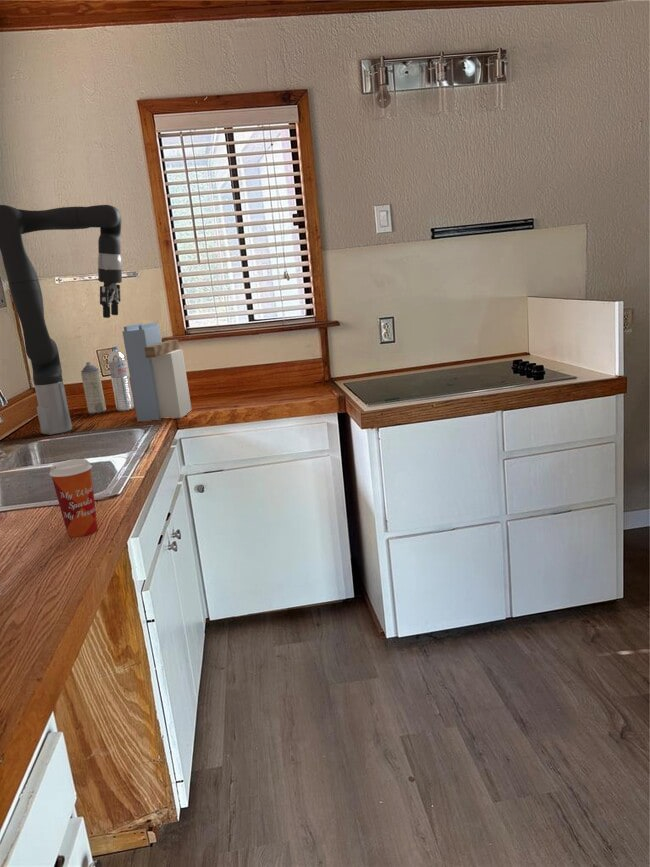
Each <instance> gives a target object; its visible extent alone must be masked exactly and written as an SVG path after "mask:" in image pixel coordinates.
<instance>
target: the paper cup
mask: <svg viewBox="0 0 650 867" xmlns="http://www.w3.org/2000/svg"><path fill="white" fill-rule="evenodd" d="M92 468H93V464H91V463H90V461H88V460H87V459H85V458H74V459H68V460H63V461H60V462H57V463H54V464H53V465H51V466H50V472H49V476H50V477H51V478H52V482H53V486H54V489H55V493H56V498H57V501H58V502H57V503H58V505H59V508H60V512H61V517H62V520H63V522H64V526H65V528H66V529H65V530H66V534H67V535H68V537H70V538H83V537H86V536H90V535H92V534H95V533H96V532H97V531H98V529H99V528H98V517H97V510H96V509H97V508H96V502H95V494H94V486H93V479H92V471H91V470H92Z"/></svg>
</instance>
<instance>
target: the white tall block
mask: <svg viewBox="0 0 650 867" xmlns="http://www.w3.org/2000/svg"><path fill="white" fill-rule="evenodd" d="M184 357H185V356H184V351H183V348H182V349H178V350H175V351H172V352H169V353H167V354H164V355H161V356H158V357H151V360H152V366H153V373H154V379H155V385H156V391H157V397H158V404H159V410H160V416H161V418H165V417H174V418H173V419H181V418H183V417H185V416H186V415H188V414H189V413H188V412H190V411H191V410H192V409H193V408H192V404H191V403H192V402H191V398H190V391H189V385H188V384H189V383H188V378H187V370H186V363H185V358H184ZM192 411H193V410H192ZM192 411H191V412H192ZM191 412H190V413H191ZM187 413H188V414H187Z"/></svg>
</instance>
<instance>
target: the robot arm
mask: <svg viewBox="0 0 650 867" xmlns="http://www.w3.org/2000/svg"><path fill="white" fill-rule="evenodd" d="M90 228H100V229H99V230H100V234H99V236H98V242H97V243H98V245H97V246H98V248H97V249H98V257H97V267H98V268H97V279H98V281H99V282H100V283H103V286H101V285H100V286H99V305H101V306H102V317H103V318H104V319H105V318H107V319H109V318H111V315H112V316H118V315H119V304H120V302H121V301H122V300H121V285H120V283H122V280H123V279H122V278H123V276H122V275H123V274H122V272H123V271H122V269H123V268H122V255H121V251H122V250H121V234H122V214H121V212H120V210H119V209H118V208H117V207H115V206H113V205H110V204H100V205H90V206H63V207H57V208H50V209H43V210H29V209H27V210H26V209H19V208H16V207H13V206H10V205H6V204H0V254H1V257H2V258H1V259H2V261H3V262H2V263H3V266H4V267H3V268H4V270H5V275H6V279H7V282H8V287H9V291H10V294H11V298H12V300H13V301H12V302H13V303H14V307H15V311H16V313H17V316H18V317H19V321H20V324H21V328H22V334H23V340H24V347H25V348H24V349H25V352H26V355H27V357H28V359H29V360H30V362H31V364H30V365H31V368H32V381H33V385H34V389H35V394H36V400H37V404H38V406H36V413H37V417H38V422H39V427H40V431H41V434H44V435H56V434H60V433H61V434H63V433H67V432H69V431H71V430H73V425H72V420H71V414H70V411H69V405H68V400H67V395H66V394H67V393H66V389H65V384H64V380H63V371H62V365H61V364H62V363H61V359H60V353H59V349H58V345H57V343H56V342H55V340H54V339H52V338H51V335H50V334H49V330H48V327H47V324H46V321H45V310H44V299H43V293H42V288H41V284H40V281H39V276H38V274H37V271H36V269H35V267H34V265H33V263H32V261H31V259H30V258H29V256H28V254H27V251H26V249H25V246H24V241H23V237H22V235H24V234H28V233H29V234H30V233H32V232H33V233H34V232H38V231H39V232H41V231H51V230H52V231H53V230H55V231H56V230H58V231H59V230H60V231H61V230H62V231H63V230H64V231H65V230H68V231H69V230H85V229H90Z"/></svg>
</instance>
